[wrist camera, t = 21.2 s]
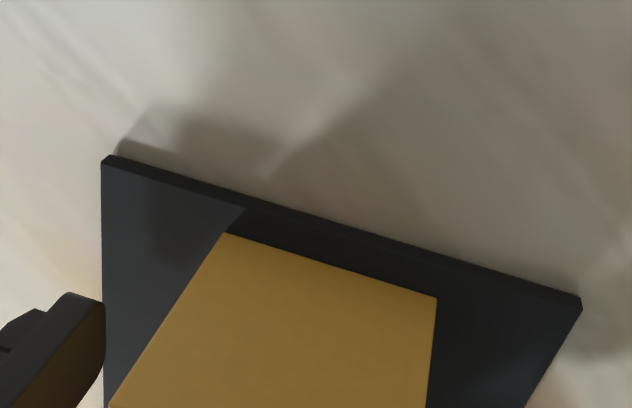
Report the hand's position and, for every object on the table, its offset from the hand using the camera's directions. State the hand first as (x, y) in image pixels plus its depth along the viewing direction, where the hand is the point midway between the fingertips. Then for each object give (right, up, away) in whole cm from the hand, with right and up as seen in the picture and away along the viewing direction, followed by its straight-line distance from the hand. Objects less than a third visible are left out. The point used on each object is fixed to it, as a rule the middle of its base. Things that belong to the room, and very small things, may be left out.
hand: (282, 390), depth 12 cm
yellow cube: (+1, +1, +1) cm, 2 cm away
